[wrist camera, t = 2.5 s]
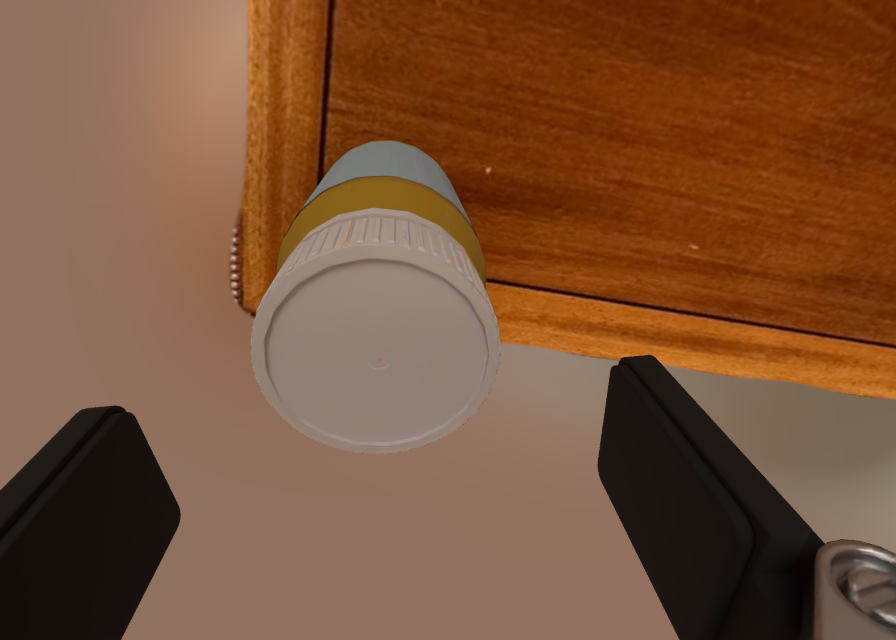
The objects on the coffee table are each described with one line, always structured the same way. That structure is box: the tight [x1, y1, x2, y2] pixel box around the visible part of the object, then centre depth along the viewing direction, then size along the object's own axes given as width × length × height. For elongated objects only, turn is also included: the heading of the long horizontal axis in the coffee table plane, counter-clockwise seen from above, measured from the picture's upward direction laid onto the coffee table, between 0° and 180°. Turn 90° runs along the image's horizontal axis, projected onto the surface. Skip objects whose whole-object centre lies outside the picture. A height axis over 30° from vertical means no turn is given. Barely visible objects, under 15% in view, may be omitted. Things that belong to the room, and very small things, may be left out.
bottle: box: [250, 140, 501, 454], centre depth 18 cm, size 7×7×15 cm
